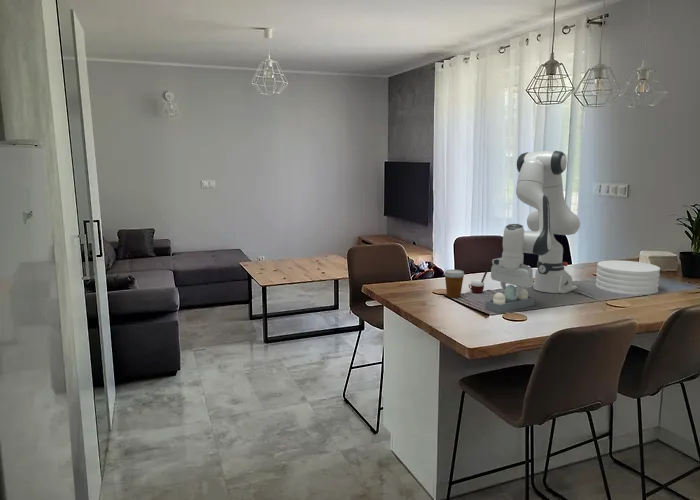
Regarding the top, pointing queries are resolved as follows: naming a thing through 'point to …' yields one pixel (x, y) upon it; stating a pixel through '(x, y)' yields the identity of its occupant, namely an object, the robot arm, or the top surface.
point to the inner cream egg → (523, 294)
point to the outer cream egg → (499, 298)
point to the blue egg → (510, 293)
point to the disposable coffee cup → (454, 282)
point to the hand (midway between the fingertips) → (510, 293)
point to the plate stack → (627, 277)
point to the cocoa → (478, 284)
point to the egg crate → (510, 305)
